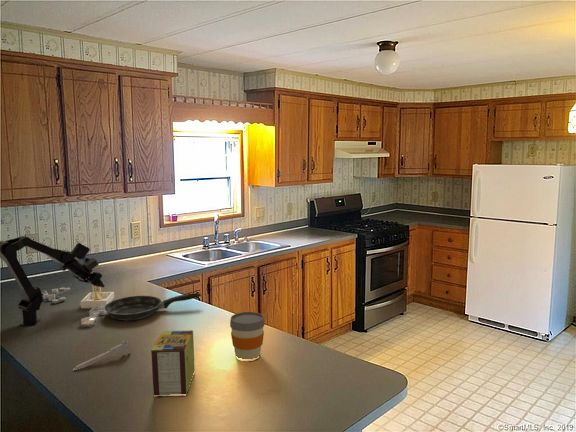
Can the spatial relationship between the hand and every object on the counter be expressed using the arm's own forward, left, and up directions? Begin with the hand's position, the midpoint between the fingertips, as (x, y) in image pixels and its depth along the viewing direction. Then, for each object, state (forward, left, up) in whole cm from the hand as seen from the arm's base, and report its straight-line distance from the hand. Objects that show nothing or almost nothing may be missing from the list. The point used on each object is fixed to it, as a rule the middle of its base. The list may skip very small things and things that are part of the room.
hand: (99, 285), depth 231 cm
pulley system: (+13, +28, -10) cm, 32 cm away
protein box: (-88, -48, -9) cm, 101 cm away
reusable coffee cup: (-70, -72, -9) cm, 101 cm away
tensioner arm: (-22, -4, -9) cm, 24 cm away
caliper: (-68, -20, -10) cm, 72 cm away
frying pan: (-17, -27, -9) cm, 33 cm away
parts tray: (-1, +1, -9) cm, 9 cm away
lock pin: (-1, +1, -8) cm, 8 cm away
